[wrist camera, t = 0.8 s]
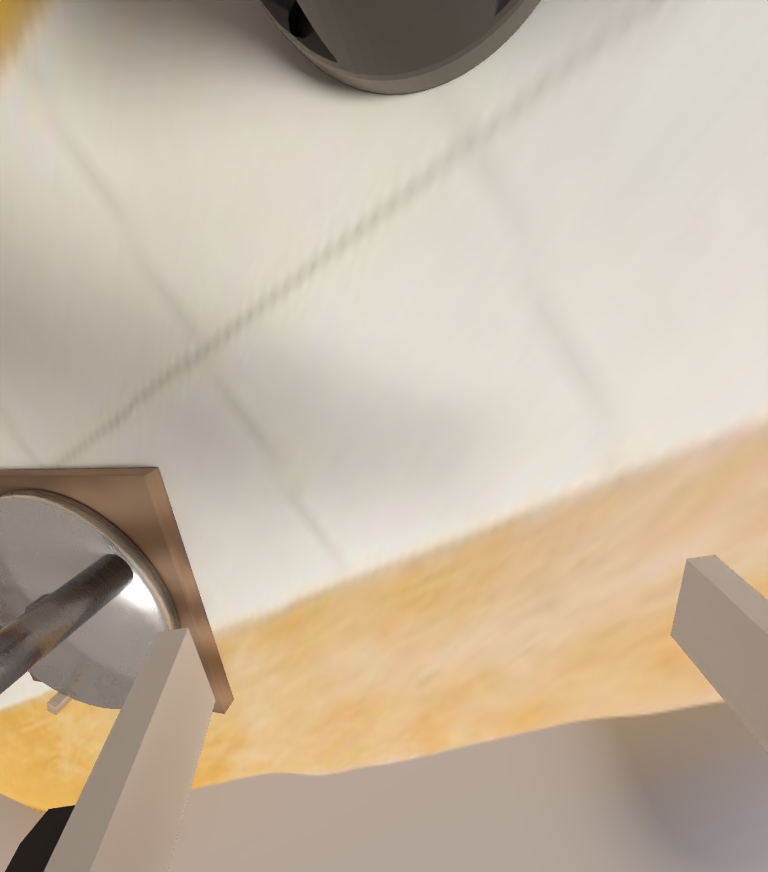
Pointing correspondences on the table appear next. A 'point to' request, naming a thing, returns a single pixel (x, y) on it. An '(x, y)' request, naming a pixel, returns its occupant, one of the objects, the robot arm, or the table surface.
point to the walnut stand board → (137, 545)
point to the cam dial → (75, 599)
